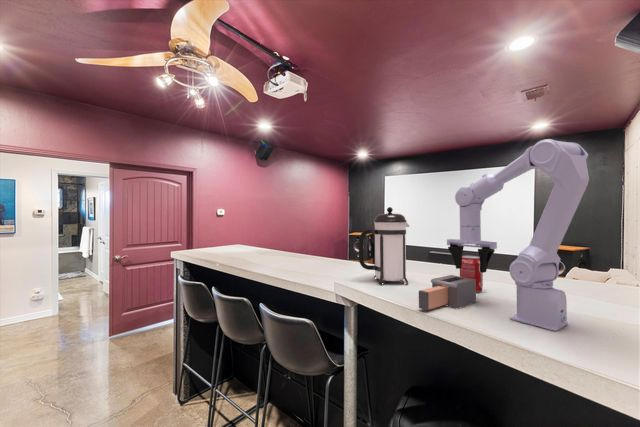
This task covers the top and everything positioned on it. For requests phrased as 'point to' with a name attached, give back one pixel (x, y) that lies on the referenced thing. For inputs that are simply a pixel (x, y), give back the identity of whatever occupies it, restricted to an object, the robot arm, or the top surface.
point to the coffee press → (388, 247)
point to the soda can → (472, 270)
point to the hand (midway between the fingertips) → (470, 270)
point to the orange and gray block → (433, 297)
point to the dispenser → (458, 290)
